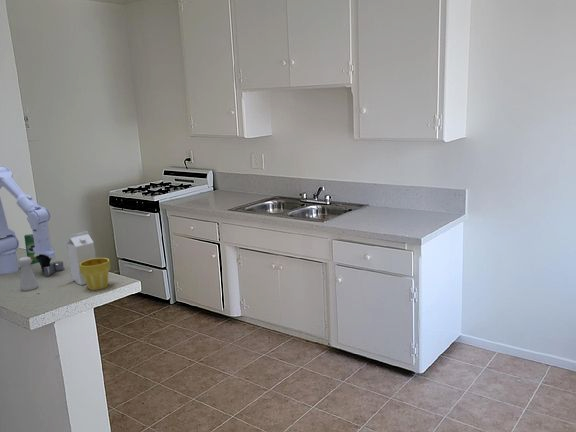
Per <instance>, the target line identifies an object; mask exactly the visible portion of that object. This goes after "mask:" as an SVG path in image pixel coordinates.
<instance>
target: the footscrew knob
mask: <svg viewBox="0 0 576 432" xmlns="http://www.w3.org/2000/svg"><path fill="white" fill-rule="evenodd" d="M43 269H44V273H43V274H44V277H45V278H46V277H50V276H51V275H53V274H55V273H58V272H63V271H64V270H65V265H64V261H60V260H59V261H54V262H50V264H49V265H47V266H46V267H44V268H43Z"/></svg>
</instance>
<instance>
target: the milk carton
mask: <svg viewBox="0 0 576 432" xmlns="http://www.w3.org/2000/svg"><path fill="white" fill-rule="evenodd" d="M94 243H95V242H94V240H93V239H92V238H91V236H90V234H89V231H87V230H85V231H81V232H77V233H73V234H72V233H71V234H69V239H68V241H67V243H66V247H67V253H68V254H67V255H68V260H69V266H70V267H69V268H70V274H71V279H72V283H74V284H77V285H80V286H83V285H87V283H86V280H85V278H84V276H83V274H81V271H80V266H79V264H80V263H81V262H83V261H85V260H89V259H94V258H97V257H96V250H95V244H94Z"/></svg>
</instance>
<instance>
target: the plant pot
mask: <svg viewBox="0 0 576 432" xmlns="http://www.w3.org/2000/svg"><path fill="white" fill-rule="evenodd" d="M79 266H80V271H81V274H83V276H84V278H85V280H86V283H87V284H86V285H87V286H86V287H88V289H89V290H90V291H100V290H103V289H106V288H107V287H108V285H109V271H110V269H111V261H110V259H109V257H108V258H107V257H96V258H94V259H89V260H85V261H83V262H81V263H80V264H79Z"/></svg>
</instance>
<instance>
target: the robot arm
mask: <svg viewBox="0 0 576 432" xmlns="http://www.w3.org/2000/svg"><path fill="white" fill-rule="evenodd" d="M13 177H14V176H13V172H12V171H11V170H10V169H9V167H8V166H5V165H4V166H3V165H2V166H0V189H1V188H2V187H4V189H5V190H6V191H7V192H9V194H10V195H12V196H13V197H14V198H15V199H16V205H17V207H19V208H20V209H21V211H23V213H24V214H25V215H26V220H27V223H28V224H29V226H30V227H29V228H31V230H32V231H31V232H32V234H33V238H34V245H35V247H34V248H33V252H34V253H36V254H39V256H36V259H37V260H38V262H39V265H40V268H41V271H42V273H43V274H44V269H43V268H44V267H46V266H47V265H49V264H50V263H51V260H52V258H53V259H54V258H56V254H55V251H54V250H55V247H52V244H51V239H50V230H49V224H48V223H49V221H50V219H51V213H50V211H49V210H48V208H47V207H43V206H42V205H39V204H38V202H37V201H36V200H35V199H34V198H33V197H32V196H31V195H30V194H27V193H25V192H24V191H23V190H22V189H21V187H20V186H19V185H18V184H17V182H16V181H15V180H14V178H13ZM19 247H20V241H19V238H18V237H17V235H16V233H15V231H14V230H12V229H10V228H9V225H8V221H7V217H6V214H5V210H4V206H3V202H2V199H1V197H0V275H8V274H13V273H16V272H18V271H19V263H18V259H17V258H18V257H17V251H18V248H19Z"/></svg>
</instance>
